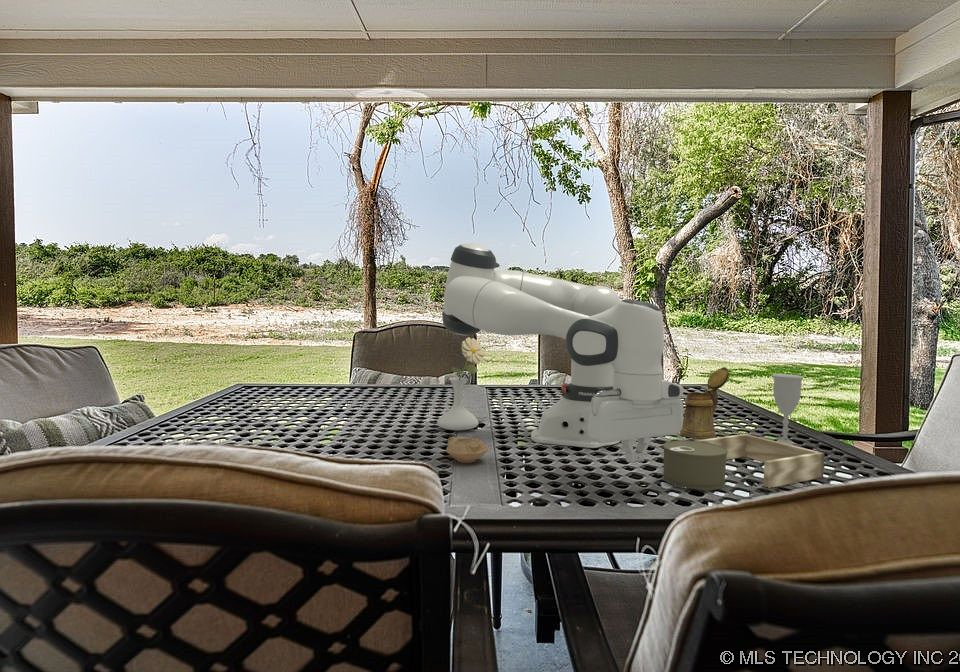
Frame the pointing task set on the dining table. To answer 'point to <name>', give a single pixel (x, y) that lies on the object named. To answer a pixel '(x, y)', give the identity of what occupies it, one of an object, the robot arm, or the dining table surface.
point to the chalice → (786, 398)
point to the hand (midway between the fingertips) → (634, 461)
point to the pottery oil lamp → (466, 449)
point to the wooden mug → (703, 408)
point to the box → (774, 458)
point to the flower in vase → (457, 413)
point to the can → (694, 464)
